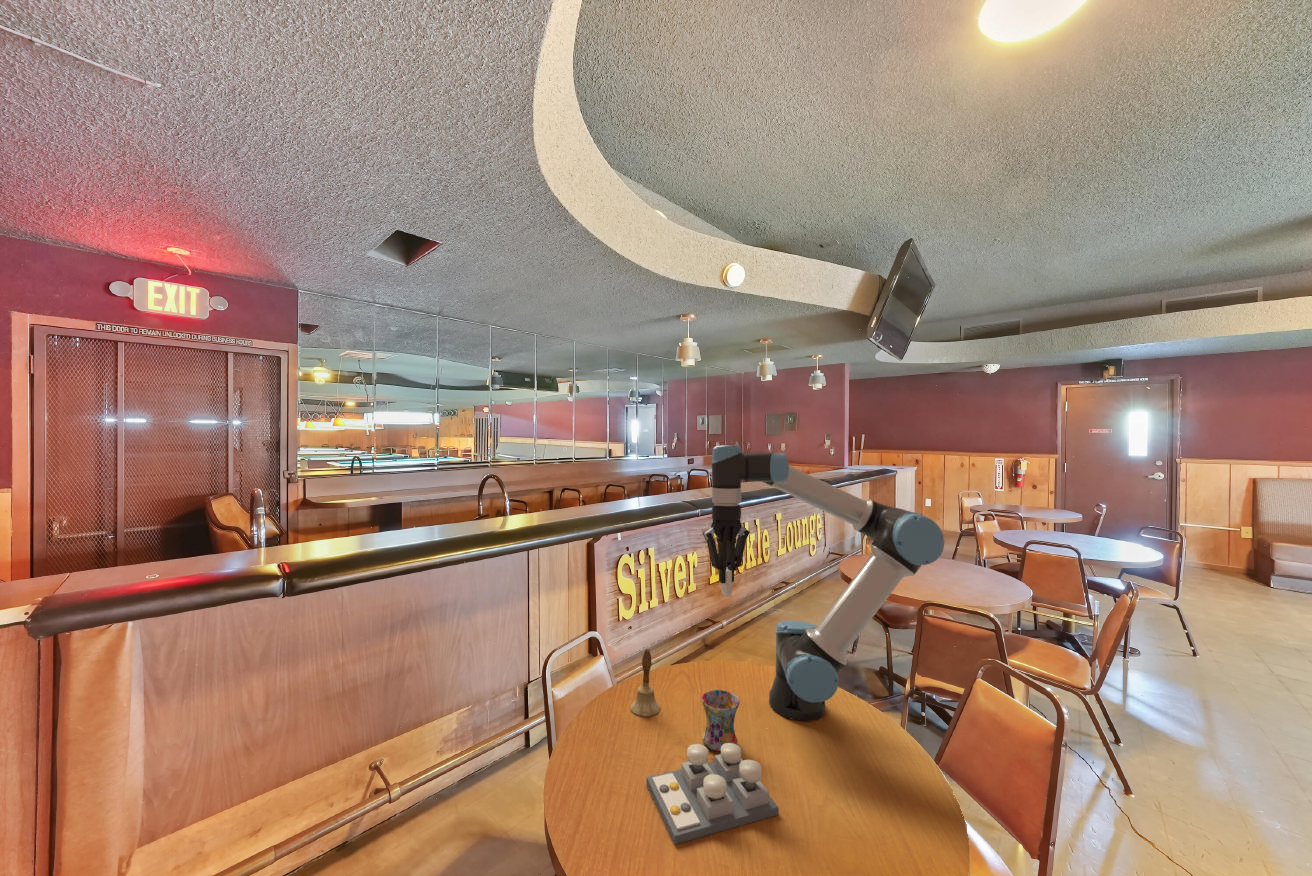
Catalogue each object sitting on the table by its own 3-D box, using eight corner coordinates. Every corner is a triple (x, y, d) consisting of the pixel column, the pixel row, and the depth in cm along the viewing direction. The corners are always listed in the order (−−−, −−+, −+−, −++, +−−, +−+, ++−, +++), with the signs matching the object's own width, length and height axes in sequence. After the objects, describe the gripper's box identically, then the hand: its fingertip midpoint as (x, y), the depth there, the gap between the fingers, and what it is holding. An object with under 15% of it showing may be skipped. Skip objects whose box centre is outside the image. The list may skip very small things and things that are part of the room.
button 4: (719, 791, 94) (719, 772, 94) (729, 807, 90) (730, 787, 90) (699, 796, 92) (699, 776, 92) (709, 813, 88) (709, 792, 88)
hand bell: (642, 697, 134) (643, 641, 134) (666, 707, 129) (667, 648, 130) (624, 710, 127) (625, 651, 128) (648, 720, 122) (649, 659, 123)
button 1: (734, 759, 104) (734, 741, 104) (744, 771, 100) (745, 753, 100) (717, 763, 102) (717, 745, 103) (726, 776, 98) (726, 757, 98)
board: (737, 762, 106) (737, 745, 106) (778, 814, 91) (778, 794, 91) (646, 784, 99) (646, 766, 99) (674, 844, 84) (674, 822, 84)
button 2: (753, 776, 96) (754, 757, 97) (765, 791, 92) (765, 771, 92) (735, 781, 95) (735, 762, 95) (746, 796, 91) (746, 776, 91)
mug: (741, 756, 108) (741, 710, 109) (701, 754, 109) (702, 708, 109) (735, 726, 120) (735, 685, 121) (699, 724, 121) (700, 683, 121)
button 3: (702, 760, 101) (702, 742, 101) (711, 773, 97) (711, 754, 97) (683, 764, 100) (684, 746, 100) (692, 778, 96) (692, 759, 96)
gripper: (740, 501, 127) (740, 588, 127) (697, 503, 123) (697, 593, 122) (755, 504, 120) (756, 596, 120) (711, 506, 116) (711, 602, 115)
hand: (726, 595), depth 121 cm, fingers closed
